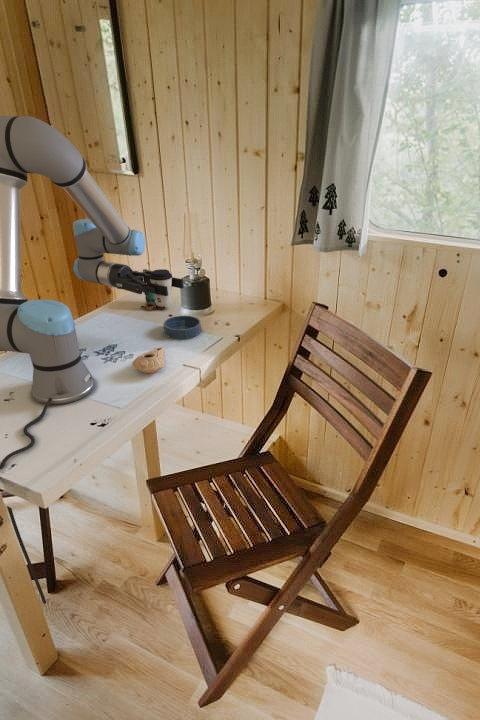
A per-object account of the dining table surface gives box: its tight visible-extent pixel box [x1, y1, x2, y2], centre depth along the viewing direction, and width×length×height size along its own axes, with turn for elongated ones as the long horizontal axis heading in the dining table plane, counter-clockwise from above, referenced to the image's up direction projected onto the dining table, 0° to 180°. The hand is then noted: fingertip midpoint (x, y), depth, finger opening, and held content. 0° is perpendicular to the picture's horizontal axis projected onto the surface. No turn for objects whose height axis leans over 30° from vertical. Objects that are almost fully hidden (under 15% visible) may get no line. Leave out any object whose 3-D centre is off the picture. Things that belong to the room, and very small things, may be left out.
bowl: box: [163, 315, 202, 340], centre depth 156 cm, size 12×12×4 cm
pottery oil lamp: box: [131, 347, 166, 375], centre depth 134 cm, size 9×12×7 cm
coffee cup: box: [149, 268, 173, 307], centre depth 143 cm, size 7×7×10 cm
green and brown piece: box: [142, 283, 166, 311], centre depth 174 cm, size 9×11×10 cm
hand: (174, 287), depth 140 cm, fingers closed on coffee cup, 7 cm apart
